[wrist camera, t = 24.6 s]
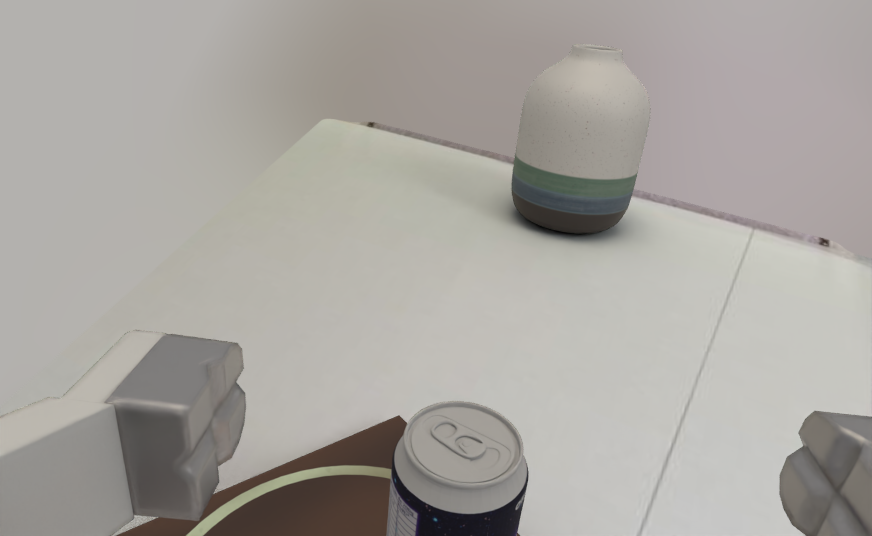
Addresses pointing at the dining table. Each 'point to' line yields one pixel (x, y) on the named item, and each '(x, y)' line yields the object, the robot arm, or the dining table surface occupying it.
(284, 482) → the brown flat square board
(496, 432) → the beverage can
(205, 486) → the robot arm
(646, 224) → the dining table surface
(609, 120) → the vase
